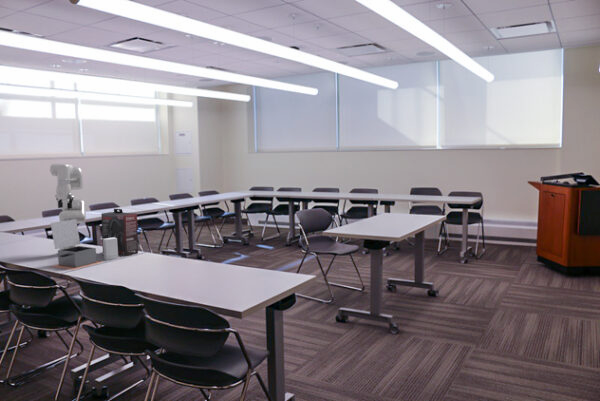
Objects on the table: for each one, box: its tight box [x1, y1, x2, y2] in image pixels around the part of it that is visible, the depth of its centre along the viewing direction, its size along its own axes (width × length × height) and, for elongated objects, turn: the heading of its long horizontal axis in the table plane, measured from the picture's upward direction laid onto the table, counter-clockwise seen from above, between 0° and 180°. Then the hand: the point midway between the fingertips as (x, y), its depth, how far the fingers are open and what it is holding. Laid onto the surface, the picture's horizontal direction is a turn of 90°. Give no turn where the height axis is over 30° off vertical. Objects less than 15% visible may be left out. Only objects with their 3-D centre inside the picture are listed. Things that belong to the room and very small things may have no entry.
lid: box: [50, 219, 81, 250], centre depth 317 cm, size 17×18×3 cm
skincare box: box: [102, 237, 119, 261], centre depth 330 cm, size 8×6×15 cm
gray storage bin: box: [57, 245, 97, 268], centre depth 313 cm, size 16×24×10 cm
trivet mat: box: [50, 260, 103, 271], centre depth 314 cm, size 21×24×1 cm
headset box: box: [100, 208, 139, 257], centre depth 349 cm, size 24×13×33 cm, turn 62°
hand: (65, 208), depth 325 cm, fingers open, 8 cm apart
